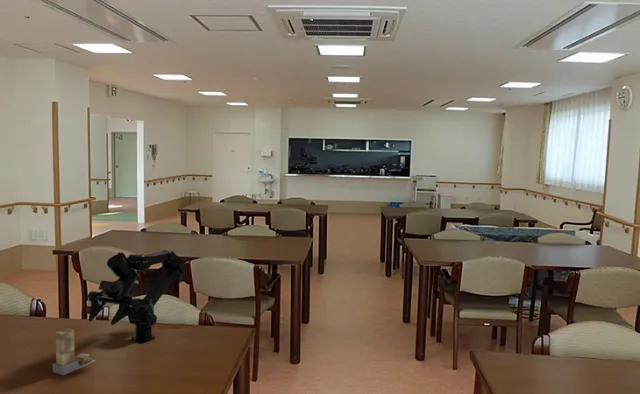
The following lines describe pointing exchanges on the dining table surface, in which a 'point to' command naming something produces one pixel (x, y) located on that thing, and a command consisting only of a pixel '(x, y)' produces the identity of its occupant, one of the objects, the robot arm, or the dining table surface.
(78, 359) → the offcut top
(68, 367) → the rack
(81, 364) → the offcut low
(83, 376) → the dining table surface
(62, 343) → the tan wooden block
